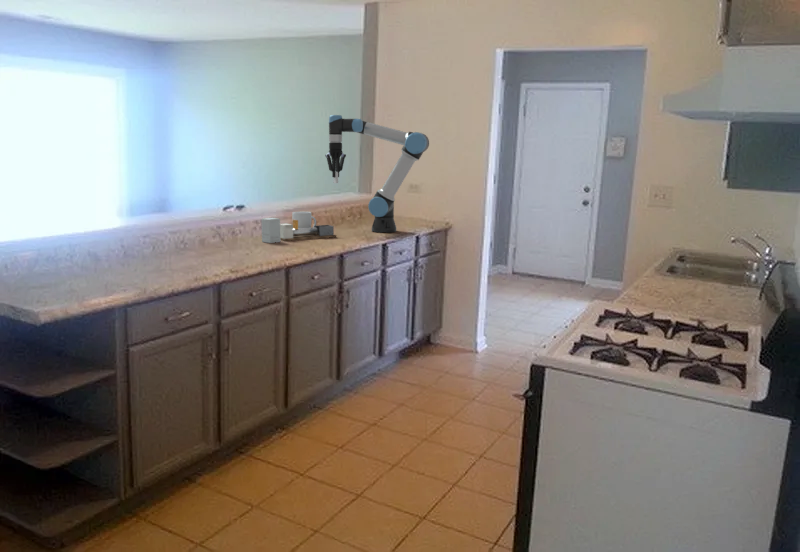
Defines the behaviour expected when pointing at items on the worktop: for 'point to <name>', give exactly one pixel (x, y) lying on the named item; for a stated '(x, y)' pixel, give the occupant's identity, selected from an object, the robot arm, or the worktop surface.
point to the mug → (303, 219)
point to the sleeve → (325, 230)
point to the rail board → (307, 237)
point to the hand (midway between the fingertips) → (335, 182)
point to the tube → (303, 230)
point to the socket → (286, 231)
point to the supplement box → (270, 230)
